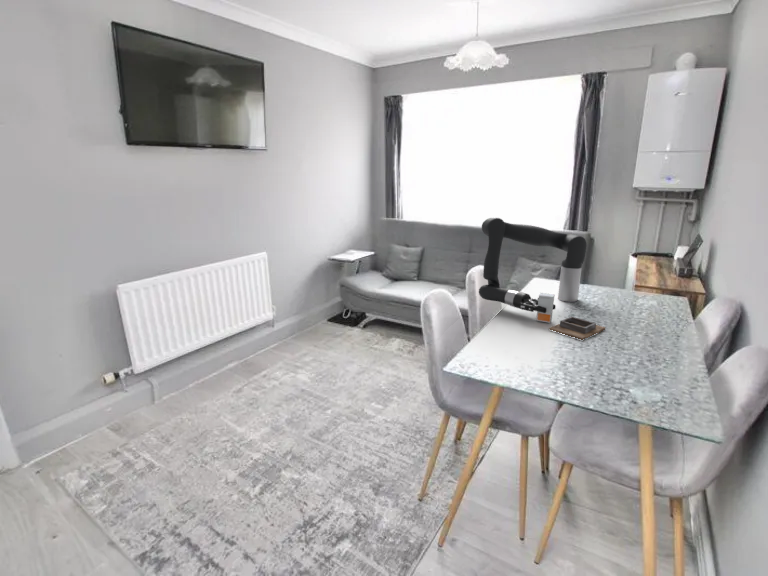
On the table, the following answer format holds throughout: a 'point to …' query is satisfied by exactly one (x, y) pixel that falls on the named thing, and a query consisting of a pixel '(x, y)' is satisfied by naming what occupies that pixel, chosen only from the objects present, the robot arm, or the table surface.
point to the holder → (577, 328)
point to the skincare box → (547, 302)
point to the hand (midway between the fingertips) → (550, 308)
